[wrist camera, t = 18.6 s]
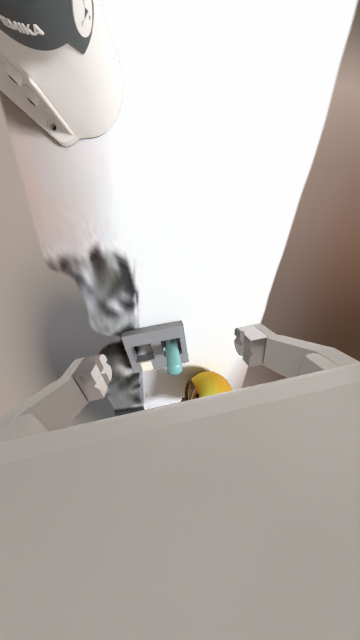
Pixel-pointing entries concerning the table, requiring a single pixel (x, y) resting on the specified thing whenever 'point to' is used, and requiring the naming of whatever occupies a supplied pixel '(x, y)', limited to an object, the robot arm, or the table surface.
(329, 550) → the robot arm
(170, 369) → the teal rounded cylinder
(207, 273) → the table surface
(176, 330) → the socket board
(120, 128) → the table surface
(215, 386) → the emoji
